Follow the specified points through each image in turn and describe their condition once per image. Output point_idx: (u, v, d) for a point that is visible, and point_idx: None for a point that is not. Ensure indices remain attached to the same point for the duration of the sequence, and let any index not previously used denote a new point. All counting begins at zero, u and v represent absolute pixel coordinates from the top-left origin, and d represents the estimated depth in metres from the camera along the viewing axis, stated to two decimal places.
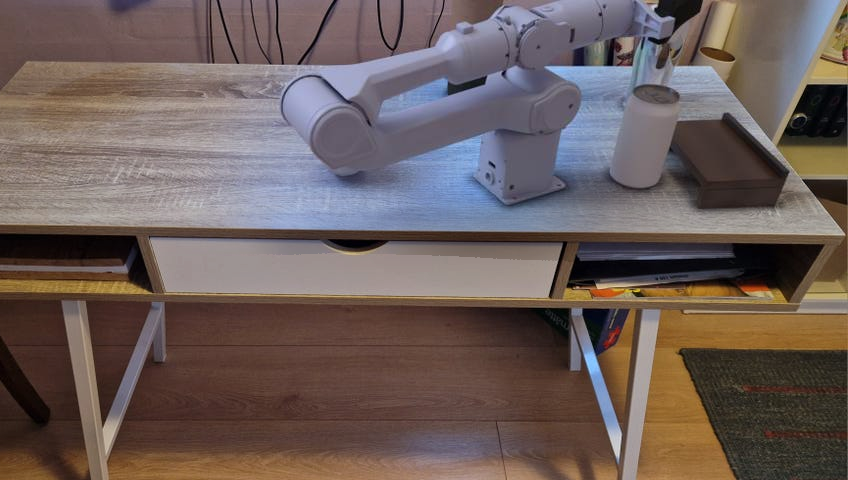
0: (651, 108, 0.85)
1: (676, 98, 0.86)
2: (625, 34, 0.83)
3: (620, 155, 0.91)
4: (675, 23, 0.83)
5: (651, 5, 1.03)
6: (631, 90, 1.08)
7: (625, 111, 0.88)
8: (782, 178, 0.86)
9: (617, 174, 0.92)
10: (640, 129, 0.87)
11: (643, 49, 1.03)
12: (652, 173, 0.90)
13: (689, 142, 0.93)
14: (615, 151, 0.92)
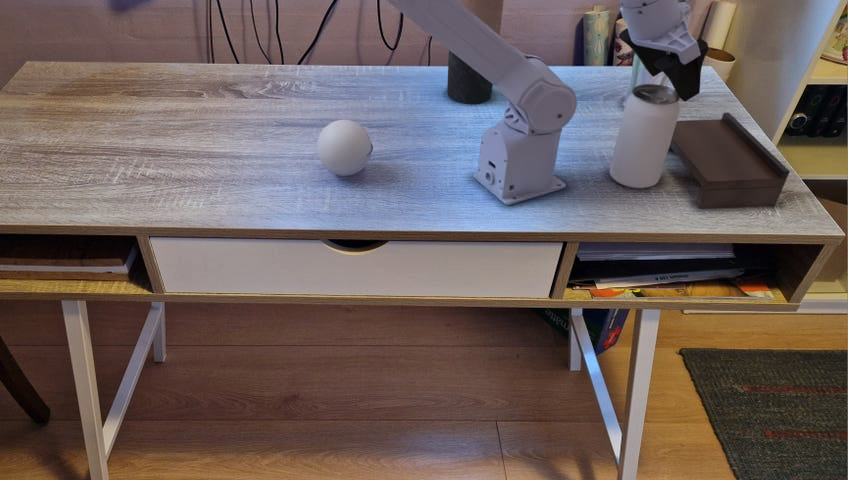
0: (651, 109, 0.85)
1: (676, 98, 0.86)
2: (648, 40, 0.82)
3: (620, 155, 0.91)
4: None
5: None
6: (631, 90, 1.08)
7: (625, 111, 0.88)
8: (782, 178, 0.86)
9: (617, 175, 0.92)
10: (640, 130, 0.87)
11: None
12: (652, 173, 0.90)
13: (689, 142, 0.93)
14: (615, 151, 0.92)
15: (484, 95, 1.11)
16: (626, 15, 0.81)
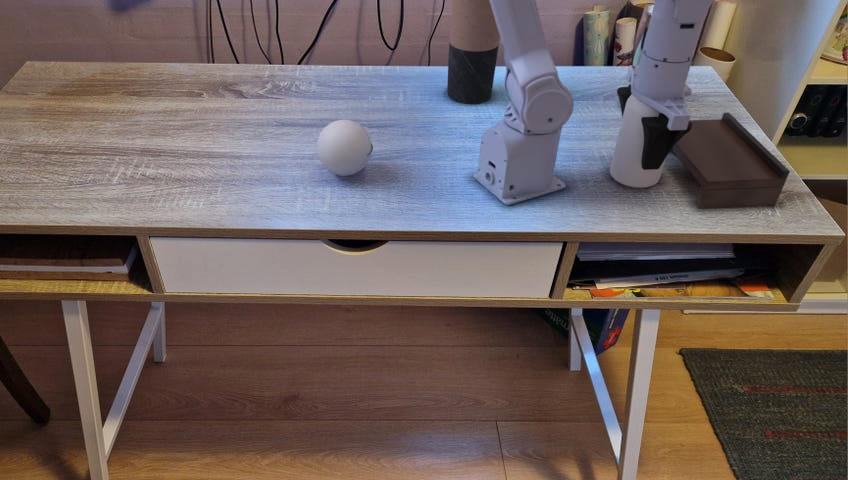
0: (651, 108, 0.85)
1: None
2: (647, 96, 0.84)
3: (620, 155, 0.91)
4: None
5: (651, 5, 1.03)
6: None
7: (625, 111, 0.88)
8: (782, 178, 0.86)
9: (617, 174, 0.92)
10: (641, 129, 0.87)
11: None
12: (652, 173, 0.90)
13: (689, 142, 0.93)
14: (615, 151, 0.92)
15: (484, 95, 1.11)
16: (642, 64, 0.84)
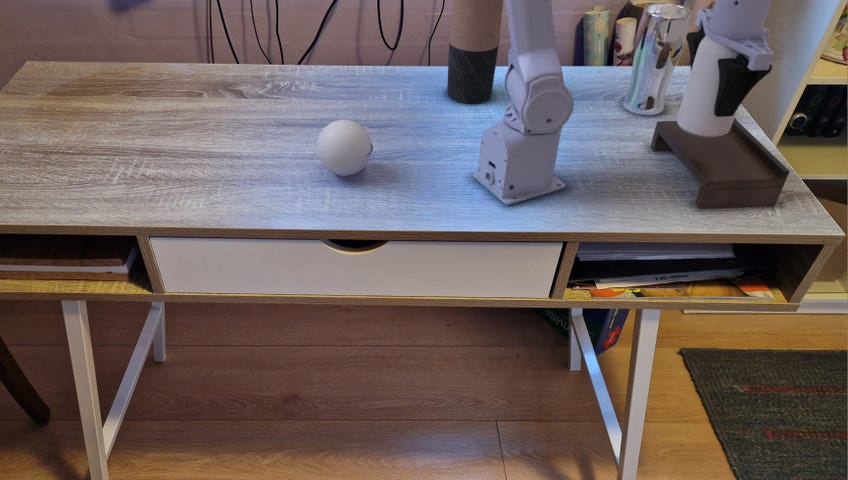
0: (728, 50, 0.81)
1: None
2: (725, 36, 0.80)
3: (691, 102, 0.87)
4: None
5: (651, 5, 1.03)
6: (631, 90, 1.08)
7: (698, 55, 0.84)
8: (782, 178, 0.86)
9: (686, 123, 0.88)
10: (716, 73, 0.83)
11: (643, 49, 1.03)
12: (725, 121, 0.86)
13: (689, 142, 0.93)
14: (685, 99, 0.88)
15: (484, 95, 1.11)
16: (719, 2, 0.80)
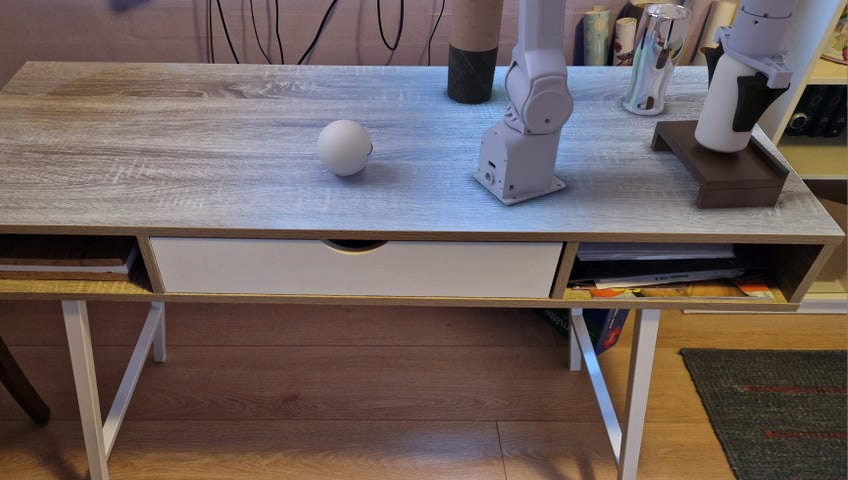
0: (748, 67, 0.83)
1: None
2: (744, 54, 0.82)
3: (709, 118, 0.88)
4: None
5: (651, 5, 1.03)
6: (631, 90, 1.08)
7: (717, 71, 0.86)
8: (782, 178, 0.86)
9: (704, 138, 0.90)
10: (735, 90, 0.84)
11: (643, 49, 1.03)
12: (742, 136, 0.88)
13: (689, 142, 0.93)
14: (703, 114, 0.89)
15: (484, 95, 1.11)
16: (739, 21, 0.81)
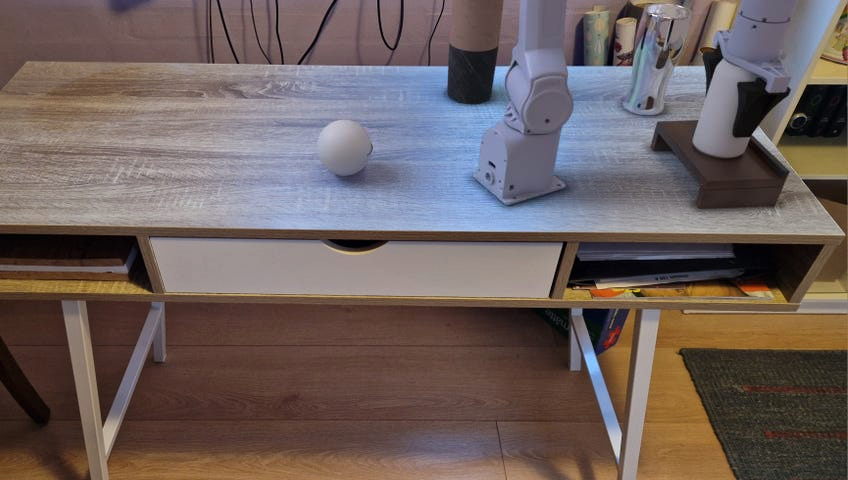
0: (745, 74, 0.83)
1: None
2: (743, 59, 0.82)
3: (707, 124, 0.89)
4: None
5: (651, 5, 1.03)
6: (631, 90, 1.08)
7: (715, 78, 0.86)
8: (782, 178, 0.86)
9: (702, 144, 0.90)
10: (732, 96, 0.85)
11: (643, 49, 1.03)
12: (740, 142, 0.88)
13: (689, 142, 0.93)
14: (701, 120, 0.90)
15: (484, 95, 1.11)
16: (737, 26, 0.82)
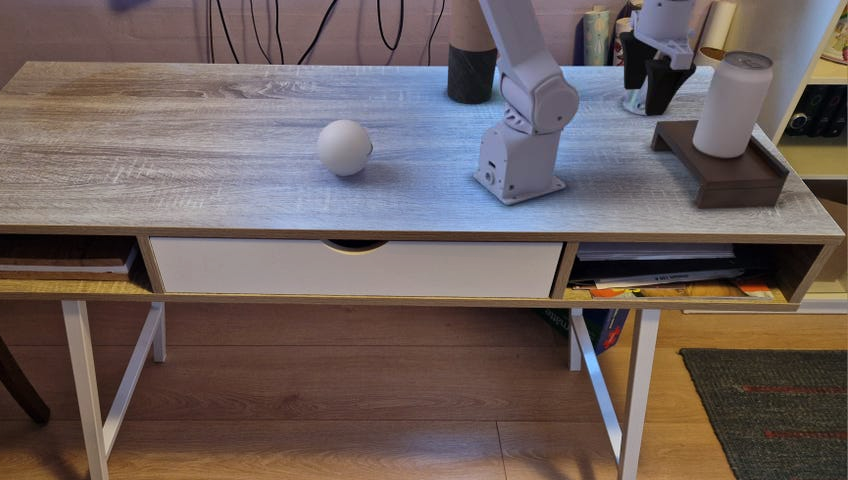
0: (745, 74, 0.83)
1: (769, 64, 0.84)
2: (650, 37, 0.84)
3: (707, 124, 0.89)
4: None
5: None
6: (631, 90, 1.08)
7: (715, 78, 0.86)
8: (782, 178, 0.86)
9: (702, 144, 0.90)
10: (732, 96, 0.85)
11: None
12: (740, 142, 0.88)
13: (689, 142, 0.93)
14: (701, 120, 0.90)
15: (484, 95, 1.11)
16: (645, 4, 0.83)
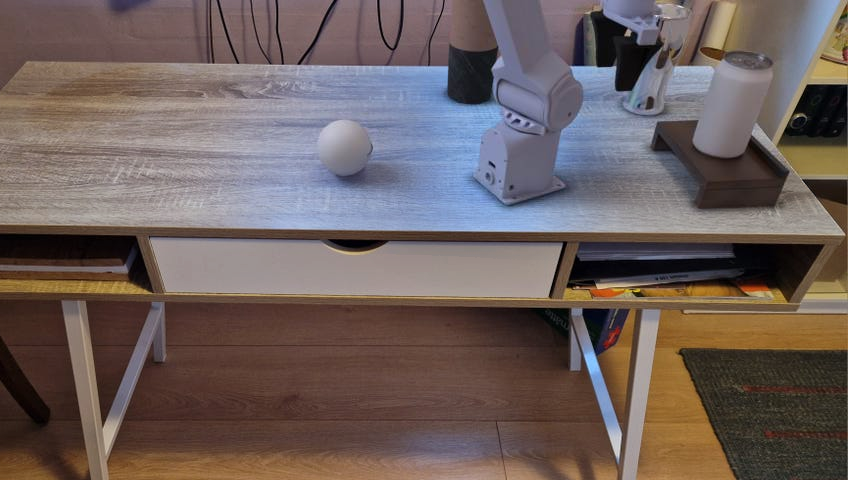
0: (745, 74, 0.83)
1: (769, 64, 0.84)
2: (618, 14, 0.87)
3: (707, 124, 0.89)
4: None
5: None
6: None
7: (715, 78, 0.86)
8: (782, 178, 0.86)
9: (702, 144, 0.90)
10: (732, 96, 0.85)
11: None
12: (740, 142, 0.88)
13: (689, 142, 0.93)
14: (701, 120, 0.90)
15: (484, 95, 1.11)
16: None
